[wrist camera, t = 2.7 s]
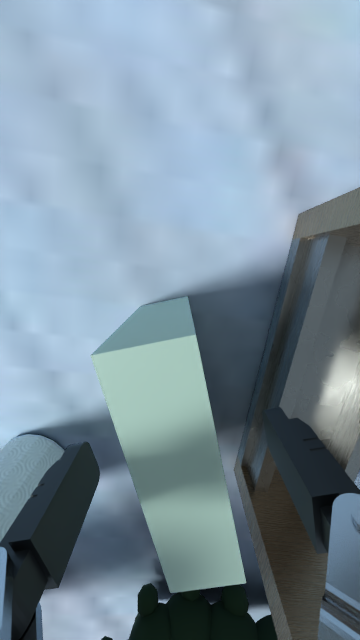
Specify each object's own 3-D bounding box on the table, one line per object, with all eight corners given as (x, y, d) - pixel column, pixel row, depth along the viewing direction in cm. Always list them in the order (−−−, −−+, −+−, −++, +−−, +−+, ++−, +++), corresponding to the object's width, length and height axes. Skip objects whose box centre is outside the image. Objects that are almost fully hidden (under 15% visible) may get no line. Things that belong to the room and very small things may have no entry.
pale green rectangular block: (215, 432, 18) (246, 583, 10) (175, 439, 19) (170, 593, 10) (187, 295, 16) (195, 334, 7) (140, 305, 16) (90, 355, 7)
